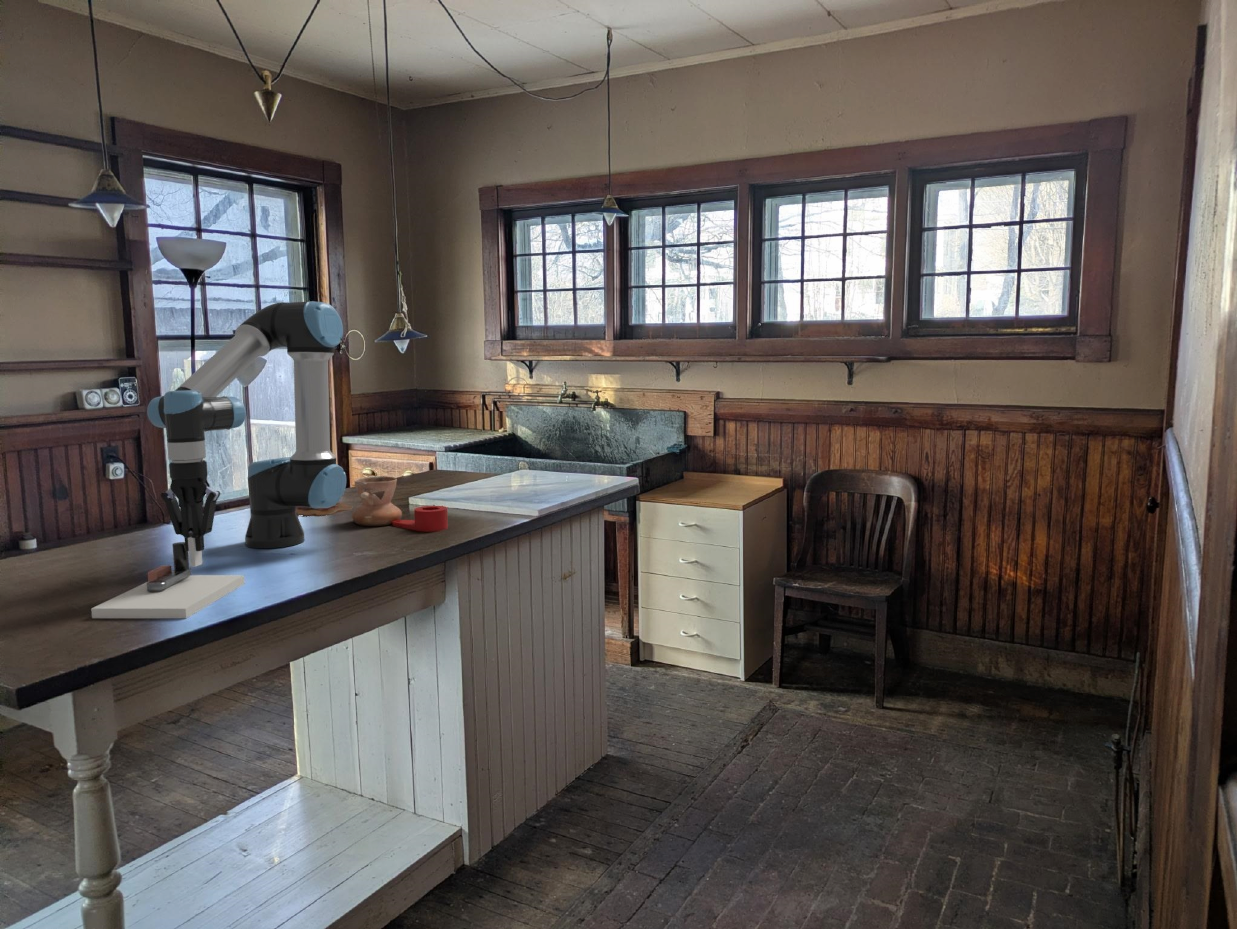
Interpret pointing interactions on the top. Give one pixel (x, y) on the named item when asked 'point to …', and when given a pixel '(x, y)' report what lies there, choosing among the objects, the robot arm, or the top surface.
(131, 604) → the board
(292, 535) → the robot arm
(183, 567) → the swing bar
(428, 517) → the lever
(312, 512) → the plant
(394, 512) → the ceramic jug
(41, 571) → the top surface
